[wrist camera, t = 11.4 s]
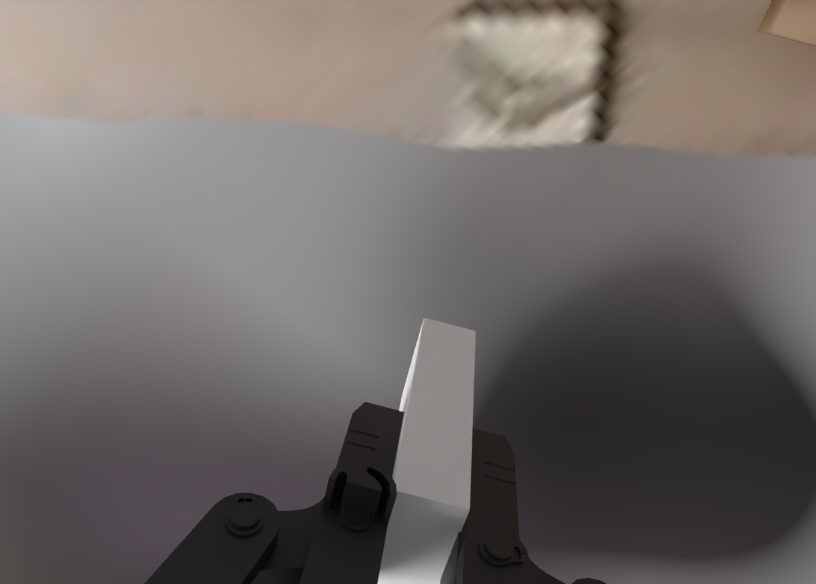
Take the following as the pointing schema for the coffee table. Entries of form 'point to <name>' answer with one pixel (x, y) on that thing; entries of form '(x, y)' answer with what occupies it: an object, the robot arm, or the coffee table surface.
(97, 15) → the coffee table surface
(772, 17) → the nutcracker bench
